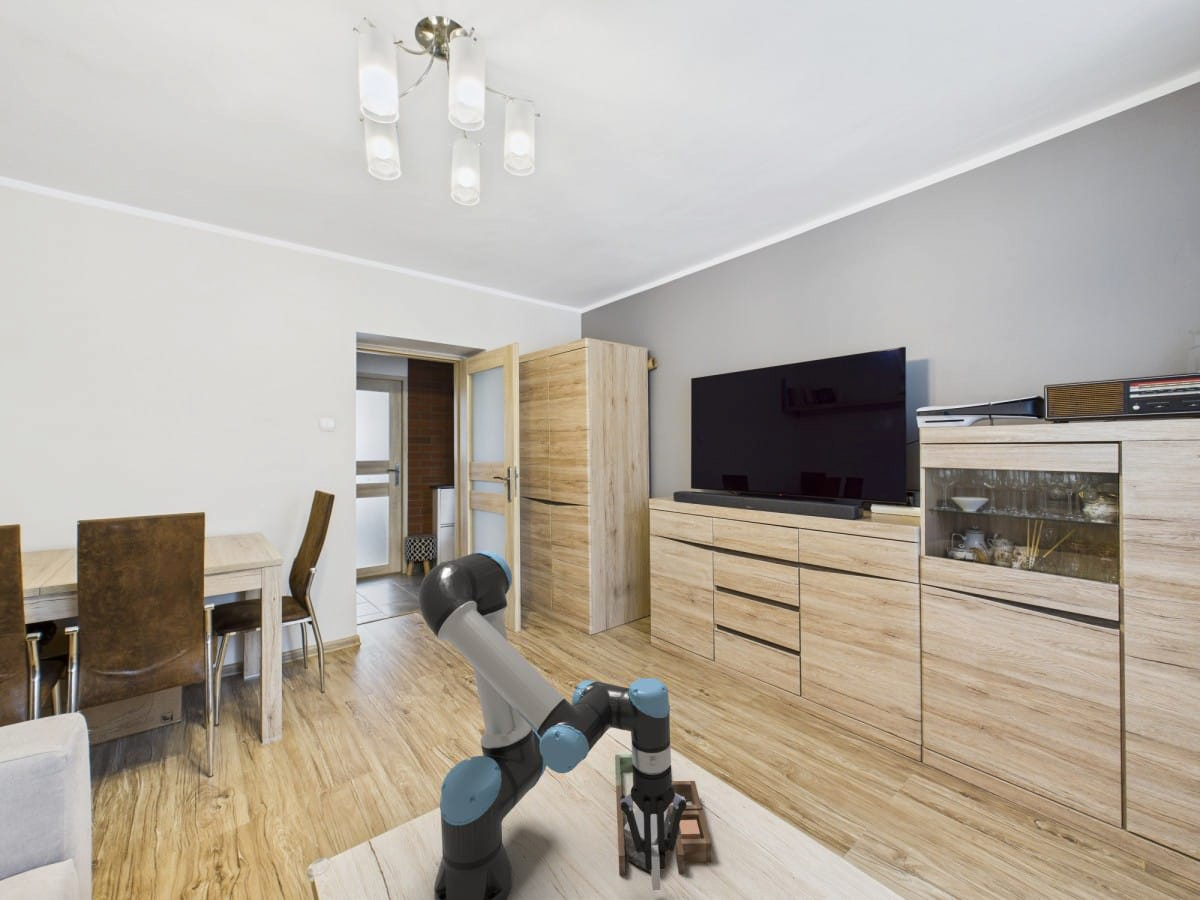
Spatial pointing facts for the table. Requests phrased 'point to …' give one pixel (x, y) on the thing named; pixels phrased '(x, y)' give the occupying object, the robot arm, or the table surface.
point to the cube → (689, 829)
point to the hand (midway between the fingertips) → (655, 883)
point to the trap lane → (684, 847)
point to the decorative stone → (630, 849)
